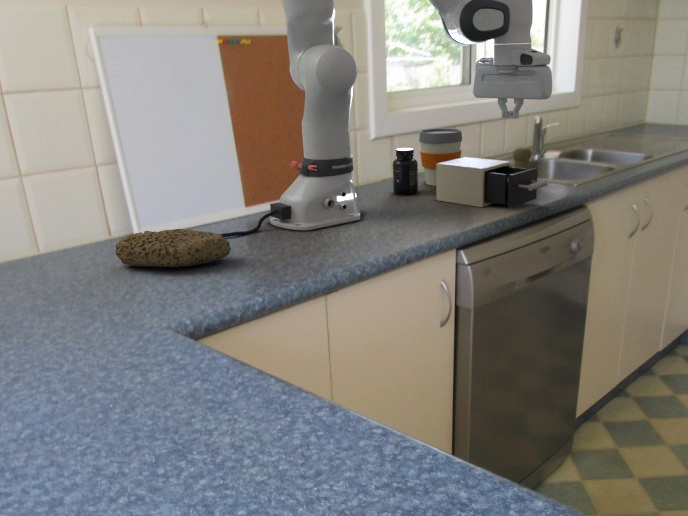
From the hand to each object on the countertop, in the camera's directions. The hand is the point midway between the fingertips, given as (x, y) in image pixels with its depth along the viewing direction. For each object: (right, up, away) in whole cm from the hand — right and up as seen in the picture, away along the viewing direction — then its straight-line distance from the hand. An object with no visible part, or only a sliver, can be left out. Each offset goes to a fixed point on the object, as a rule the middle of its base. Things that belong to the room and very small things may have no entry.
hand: (510, 118), depth 160 cm
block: (0, -18, +7) cm, 19 cm away
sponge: (-69, -37, -32) cm, 85 cm away
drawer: (+1, -19, +7) cm, 20 cm away
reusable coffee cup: (-15, -9, +36) cm, 40 cm away
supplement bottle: (-25, -14, +24) cm, 37 cm away
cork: (+7, -12, +27) cm, 30 cm away
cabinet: (-7, -17, +14) cm, 24 cm away
